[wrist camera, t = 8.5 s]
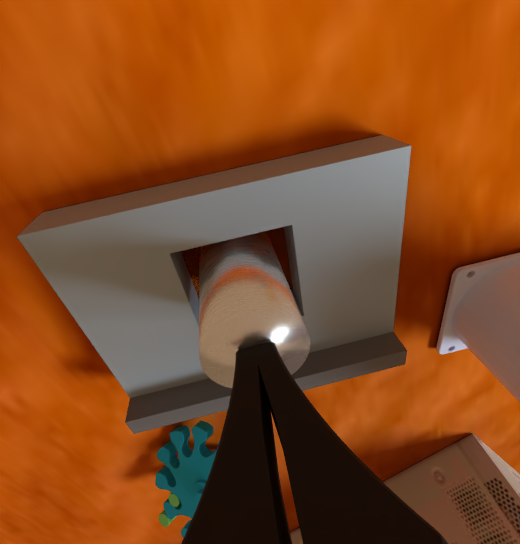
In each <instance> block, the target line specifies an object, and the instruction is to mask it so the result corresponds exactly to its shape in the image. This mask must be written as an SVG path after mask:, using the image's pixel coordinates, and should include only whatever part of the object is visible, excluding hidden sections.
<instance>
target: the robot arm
mask: <svg viewBox="0 0 520 544" xmlns="http://www.w3.org/2000/svg"><path fill="white" fill-rule="evenodd" d="M466 348H468V349H469V350H470V351H471V352H472V353H473V354H474V355H475V356H476V357H477V358H478V359H479V360H480V361H481V362H482V363H483V364H484V365H485V366H486V367H487V368H488V370H489V371H490V372H491V373H492V374H493V375H494V376H495V377H496V378H497V379H498V380H499V381H500V382H501V383H502V384H503V385H504V386H505V387H506V388H507V389H508V390H509V391H510V393H511V394H512V395H513V396H514V397H515V398H516V399H517V400H518V401H519V402H520V252H519V253H515V254H511V255H507V256H503V257H499V258H495V259H491V260H487V261H483V262H479V263H475V264H471V265H467V266H463V267H459V268H457V269H456V270H455V271H454V272H453V274H452V278H451V283H450V287H449V292H448V297H447V301H446V306H445V310H444V315H443V320H442V324H441V329H440V333H439V338H438V343H437V347H436V350H437V351H438V352H439V354H447V353H451V352H455V351H458V350H462V349H466ZM270 409H271V410H270ZM271 413H272V416H273V419H274V422H275V426H276V429H277V432H278V435H279V438H280V442H281V445H282V448H283V451H284V456H285V461H286V465H287V470H288V475H289V479H290V484H291V489H292V493H293V498H294V503H295V508H296V512H297V517H298V522H299V527H300V531H301V536H302V541H303V544H448V543H447V541H446V540H445V539H444V537H443V536H442V535H441V534H440V533H439V532H438V531H437V530H436V529H435V528H434V527H432V526H431V525H430V524H429V523H428V522H427V521H425V520H424V519H423V518H422V517H421V516H420V515H418V514H417V513H416V512H415V511H414V510H413V509H412V508H410V507H409V506H408V505H407V504H406V503H405V502H404V501H403V500H401V499H400V498H399V497H398V496H397V495H396V494H395V493H394V492H393V491H392V490H391V489H390V488H388V487H387V486H386V485H385V484H384V483H383V482H382V481H381V480H380V479H379V478H378V477H377V476H376V475H375V474H374V473H373V472H372V471H371V470H370V469H369V468H368V467H367V466H366V465H365V464H364V463H363V462H362V461H361V460H360V459H359V458H358V457H357V456H356V455H355V454H354V453H353V452H352V451H351V450H350V449H349V448H348V447H347V445H346V444H345V443H344V442H343V441H342V440H341V439H340V438H339V437H338V436H337V434H336V433H335V432H334V431H333V430H332V429H331V428H330V426H329V425H328V424H327V423H326V422H325V420H324V419H323V418H322V417H321V415H320V414H319V413H318V412H317V410H316V409H315V408H314V407H313V405H312V404H311V403H310V401H309V400H308V399H307V397H306V396H305V395H304V393H303V392H302V390H301V389H300V387H299V386H298V384H297V383H296V382H295V380H294V379H293V377H292V375H291V374H290V372H289V371H288V369H287V367H286V365H285V364H284V362H283V360H282V358H281V356H280V354H279V352H278V350H277V348H276V345H275V343H273V342H268V343H264V344H260V345H256V346H252V347H248V348H244V349H240V350H238V351H237V352H236V361H235V372H234V380H233V386H232V392H231V397H230V402H229V407H228V412H227V416H226V420H225V423H224V427H223V431H222V435H221V439H220V442H219V446H218V449H217V452H216V456H215V459H214V462H213V465H212V468H211V471H210V474H209V476H208V479H207V482H206V485H205V487H204V490H203V493H202V496H201V498H200V501H199V503H198V506H197V508H196V511H195V513H194V516H193V518H192V520H191V523H190V525H189V527H188V530H187V532H186V534H185V537H184V539H183V541H182V543H181V544H292V540H291V536H290V531H289V526H288V521H287V516H286V511H285V507H284V502H283V497H282V492H281V486H280V480H279V473H278V465H277V457H276V449H275V441H274V433H273V425H272V417H271Z"/></svg>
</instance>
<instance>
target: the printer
mask: <svg viewBox="0 0 520 544" xmlns="http://www.w3.org/2000/svg"><path fill="white" fill-rule="evenodd" d="M383 483H384V484H385V485H386V486H387V487H388V488H390V489H391V490H392V491H393V492H394V493H395V494H396V495H397V496H398V497H399V498H400V499H401V500H403V501H404V502H405V503H406V504H407V505H408V506H409V507H410V508H412V509H413V510H414V511H415V512H416V513H417V514H418V515H420V516H421V517H422V518H423V519H424V520H425V521H427V522H428V523H429V524H430V525H431V526H432V527H434V528H435V529H436V530H437V531H438V532H439V533H440V534H441V535H442V536H443V537H444V539H445V540H446V541H447V543H448V544H520V474H519V473H518V472H516V471H515V470H514V469H513V468H512V467H511V466H509V465H508V464H507V463H506V462H505V461H504V460H503V459H501V458H500V457H499V456H498V455H497V454H496V453H494V452H493V451H492V450H491V449H490V448H489V447H488V446H486V445H485V444H484V443H483V442H482V441H481V440H479V439H478V438H477V437H476V436H475V435H474V434H473V433H472V434H470V435H468V436H466V437H464V438H462V439H461V440H459V441H457V442H455V443H453V444H451V445H450V446H448V447H446V448H444V449H442V450H440V451H438V452H437V453H435V454H433V455H431V456H429V457H427V458H426V459H424V460H422V461H420V462H418V463H416V464H415V465H413V466H411V467H409V468H407V469H405V470H404V471H402V472H400V473H398V474H396V475H394V476H393V477H391V478H389V479H387V480H385V481H383ZM290 536H291V540H292V544H303V541H302V536H301V531H300V527H299V528H297V529H295V530H293V531H291V532H290Z"/></svg>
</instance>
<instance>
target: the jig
mask: <svg viewBox="0 0 520 544" xmlns="http://www.w3.org/2000/svg"><path fill="white" fill-rule="evenodd" d="M410 153H411V145H408V144H406V143H403V142H400V141H398V140H395V139H392V138H390V137H387V136H384V135H379V136H375V137H371V138H366V139H362V140H357V141H353V142H349V143H344V144H340V145H335V146H331V147H327V148H322V149H318V150H314V151H309V152H305V153H300V154H296V155H292V156H287V157H283V158H278V159H274V160H270V161H265V162H261V163H256V164H252V165H248V166H243V167H239V168H235V169H230V170H226V171H221V172H217V173H213V174H208V175H204V176H199V177H195V178H191V179H186V180H182V181H178V182H173V183H169V184H164V185H160V186H156V187H151V188H147V189H142V190H138V191H134V192H129V193H125V194H120V195H116V196H112V197H107V198H103V199H99V200H94V201H90V202H85V203H81V204H77V205H72V206H68V207H63V208H59V209H55V210H50V211H46V212H42V213H41V214H40V215H39V216H38V217H36V218H35V219H34V220H33V221H32V222H31V223H30V224H29V225H28V226H27V227H26V228H25V229H24V230H23V231H22V232H21V233H19V234H18V235H17V236H16V237H17V238H18V239H19V241H20V242H21V244H22V245H23V246H24V248H25V249H26V251H27V252H28V254H29V255H30V256H31V258H32V259H33V261H34V262H35V264H36V265H37V266H38V268H39V269H40V271H41V272H42V274H43V275H44V276H45V278H46V279H47V281H48V282H49V283H50V285H51V286H52V288H53V289H54V291H55V292H56V293H57V295H58V296H59V298H60V299H61V301H62V302H63V303H64V305H65V306H66V308H67V309H68V311H69V312H70V313H71V315H72V316H73V318H74V319H75V320H76V322H77V323H78V325H79V326H80V328H81V329H82V330H83V332H84V333H85V335H86V336H87V338H88V339H89V340H90V342H91V343H92V345H93V346H94V347H95V349H96V350H97V352H98V353H99V355H100V356H101V357H102V359H103V360H104V362H105V363H106V365H107V366H108V367H109V369H110V370H111V372H112V373H113V375H114V376H115V377H116V379H117V380H118V382H119V383H120V384H121V386H122V387H123V389H124V390H125V392H126V393H127V394H128V396H129V397H130V401H129V406H128V411H127V416H126V421H125V423H126V424H127V425H128V427H129V428H130V429H131V431H132V432H133V433H134V434H135V433H139V432H143V431H147V430H151V429H155V428H159V427H163V426H166V425H170V424H174V423H178V422H182V421H186V420H190V419H194V418H198V417H202V416H205V415H209V414H213V413H217V412H221V411H225V410H228V407H229V402H230V397H231V392H232V388H228V387H225V386H222V385H220V384H218V383H216V382H214V381H213V380H211V379H210V378H209V377H208V376H207V375H206V374H205V372H204V371H203V369H202V367H201V364H200V351H199V298H198V295H197V293H196V290H195V287H194V284H193V282H192V279H191V276H190V274H189V271H188V268H187V266H186V263H185V260H184V258H183V255H182V252H181V251H183V250H187V249H192V248H196V247H200V246H204V245H208V244H213V243H217V242H221V241H225V240H230V239H234V238H238V237H242V236H247V235H251V234H255V233H259V232H263V231H268V230H272V229H276V228H280V227H284V232H285V239H286V246H287V253H288V259H289V266H290V273H291V280H292V287H293V290H291V292H292V295H293V297H294V300H295V302H296V304H297V307H298V309H299V312H300V314H301V317H302V319H303V322H304V324H305V326H306V329H307V331H308V334H309V337H310V351H309V354H308V356H307V358H306V360H305V362H304V363H303V365H302V366H301V367H300V368H299V369H298V370H297V371H296V372H295V373H294V374H292V377H293V379H294V380H295V382H296V383H297V384H298V386H299V387H300V389H301V390H302V391H303V390H307V389H310V388H314V387H318V386H322V385H326V384H330V383H334V382H338V381H342V380H345V379H349V378H353V377H357V376H361V375H365V374H369V373H373V372H377V371H380V370H384V369H388V368H392V367H396V366H400V365H404V364H405V361H406V354H407V350H406V348H405V347H404V346H403V344H402V343H401V342H400V340H399V339H398V338H397V336H396V335H395V333H394V332H393V329H394V319H395V309H396V298H397V288H398V278H399V267H400V257H401V246H402V236H403V226H404V215H405V205H406V195H407V184H408V174H409V163H410Z"/></svg>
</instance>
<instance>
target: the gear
mask: <svg viewBox="0 0 520 544" xmlns="http://www.w3.org/2000/svg"><path fill="white" fill-rule="evenodd" d="M192 433H193V437H194V449H193V450H191V449H190V448H189V446H188V440H189V437H190V430H189V428H188V426H180V427H177V428H176V429H174V430H173V431H172V432H170V439H171V441H172V442H173V443H172V442H171V441H170V442H168V443H167V444H165V445H164V446H163V447H162V448H160V449H159V451H158V452H157V454H156V455H157V457H158V459H159V460H160V461H161V462H163V463H164V464H165V465H166V466H167V467H166V466H164V467H163V468H162V469H161V470H160V471H159V472H157V474H156V486H157V487H158V488H160V489H166V490H169V491H170V492H172V493H171V494H170V495H169V498H168V499H167V500H166V501H165V502H164V509H165V510H164V511H163V512H162V513H161V514H160V515H159V521H160V523H161V524H162V525H163V526H164V527H167V526H168V525H169V524H170V523H171V522H172V521H173V519H174V518H175V517H176V516H177V515H185V516H188V517H190V518H193V516H194V513H195V511H196V508H197V506H198V503H199V501H200V498H201V496H202V493H203V490H204V487H205V485H206V482H207V479H208V476H209V474H210V471H211V468H212V465H213V462H214V459H215V456H216V452H217V449H218V448H217V449H216V450H214V451H210V450H209V449H208V448H207V447H206V444H205V441H206V440H207V439H208V438H209V437H210V436H211V435H212V434H213V426H211V425H210V424H209V423H207V422H204V421H200V422H199V423H197V424H196V425H195V426H194V427H193V429H192ZM219 442H220V441H219ZM218 446H219V445H218ZM175 447H176V448H175ZM176 449H177V451H178V455H179V459H178V458H177V455H176ZM190 523H191V520H190V521H189V522H188V523H187V524H186V525H185V526H184V528H183V529H182V530H181V534H182V536H183V538H184V537H185V534H186V532H187V530H188V527H189V525H190Z"/></svg>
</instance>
